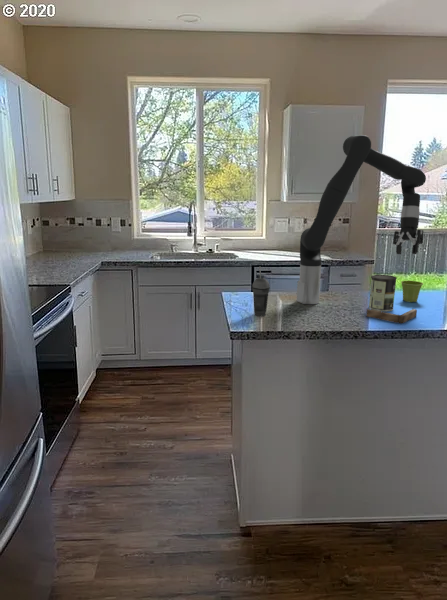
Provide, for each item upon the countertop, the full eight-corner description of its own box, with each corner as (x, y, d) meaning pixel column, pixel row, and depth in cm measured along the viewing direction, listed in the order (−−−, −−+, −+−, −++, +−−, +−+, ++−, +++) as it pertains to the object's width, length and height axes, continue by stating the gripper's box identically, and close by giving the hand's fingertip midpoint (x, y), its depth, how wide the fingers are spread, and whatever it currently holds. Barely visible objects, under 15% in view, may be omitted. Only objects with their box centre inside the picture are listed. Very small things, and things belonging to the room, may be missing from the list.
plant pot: (418, 304, 205) (421, 285, 202) (397, 301, 209) (399, 283, 207) (422, 300, 212) (424, 282, 210) (401, 297, 217) (403, 279, 215)
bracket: (365, 315, 187) (366, 308, 186) (415, 315, 187) (415, 308, 187) (374, 323, 176) (375, 316, 175) (427, 323, 177) (428, 316, 176)
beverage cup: (257, 318, 181) (258, 269, 176) (247, 313, 188) (249, 265, 182) (272, 316, 185) (274, 267, 179) (262, 311, 191) (264, 264, 186)
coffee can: (391, 306, 201) (394, 275, 198) (395, 312, 192) (398, 279, 188) (367, 304, 203) (370, 273, 200) (369, 310, 194) (372, 278, 190)
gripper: (391, 217, 205) (387, 253, 206) (417, 214, 192) (413, 253, 193) (402, 219, 208) (399, 254, 209) (429, 217, 196) (425, 254, 197)
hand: (406, 254), depth 201 cm, fingers open, 8 cm apart
